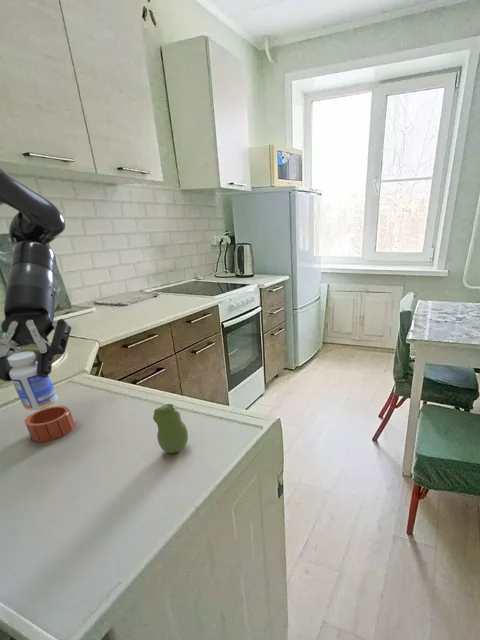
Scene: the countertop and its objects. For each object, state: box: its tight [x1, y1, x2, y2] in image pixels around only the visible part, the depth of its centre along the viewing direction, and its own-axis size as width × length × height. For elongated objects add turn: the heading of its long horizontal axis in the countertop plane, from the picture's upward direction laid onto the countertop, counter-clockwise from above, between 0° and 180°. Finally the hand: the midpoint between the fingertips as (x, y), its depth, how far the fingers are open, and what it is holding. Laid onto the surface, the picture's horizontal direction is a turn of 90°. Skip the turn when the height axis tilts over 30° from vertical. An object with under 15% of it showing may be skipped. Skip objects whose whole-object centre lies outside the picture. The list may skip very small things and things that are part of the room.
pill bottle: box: [7, 350, 59, 411], centre depth 63 cm, size 5×5×10 cm
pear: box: [152, 403, 189, 454], centre depth 67 cm, size 6×5×10 cm
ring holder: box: [24, 405, 76, 443], centre depth 77 cm, size 8×8×4 cm
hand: (24, 377), depth 61 cm, fingers closed on pill bottle, 5 cm apart
